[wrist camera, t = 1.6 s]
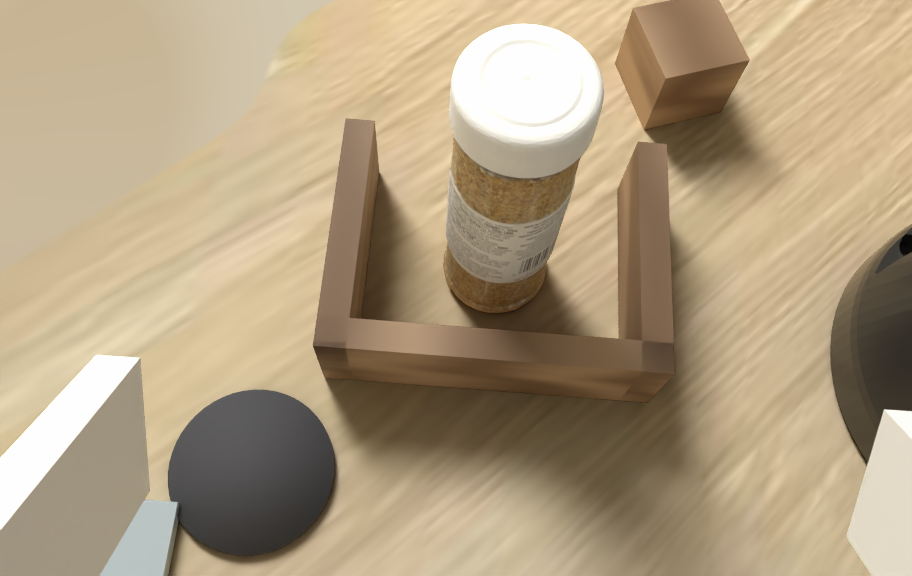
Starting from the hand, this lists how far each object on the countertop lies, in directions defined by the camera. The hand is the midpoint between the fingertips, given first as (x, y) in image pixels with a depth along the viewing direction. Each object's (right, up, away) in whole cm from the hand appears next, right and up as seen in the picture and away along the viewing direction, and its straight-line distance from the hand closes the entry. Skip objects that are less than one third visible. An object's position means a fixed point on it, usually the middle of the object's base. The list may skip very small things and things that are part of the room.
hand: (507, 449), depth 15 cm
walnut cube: (+9, +13, +26) cm, 31 cm away
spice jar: (+1, +4, +22) cm, 22 cm away
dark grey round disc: (-9, -4, +18) cm, 21 cm away
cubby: (+1, +3, +22) cm, 22 cm away
